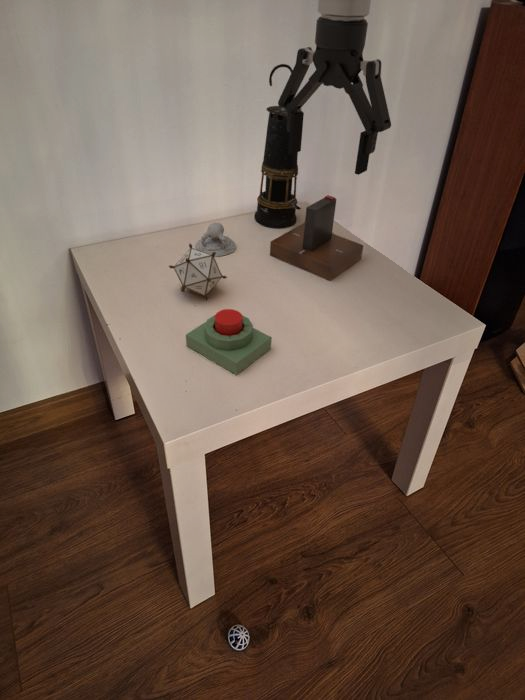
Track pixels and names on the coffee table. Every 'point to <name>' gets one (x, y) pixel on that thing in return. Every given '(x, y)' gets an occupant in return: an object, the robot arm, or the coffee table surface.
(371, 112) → the robot arm
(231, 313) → the button
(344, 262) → the block
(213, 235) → the miniature
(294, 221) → the lantern
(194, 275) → the game die
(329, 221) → the dark grey block
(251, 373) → the coffee table surface
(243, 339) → the button block
